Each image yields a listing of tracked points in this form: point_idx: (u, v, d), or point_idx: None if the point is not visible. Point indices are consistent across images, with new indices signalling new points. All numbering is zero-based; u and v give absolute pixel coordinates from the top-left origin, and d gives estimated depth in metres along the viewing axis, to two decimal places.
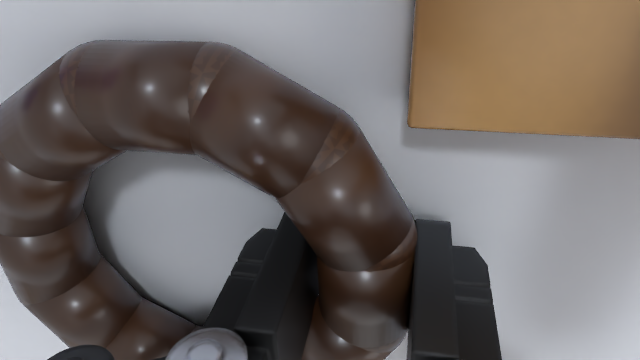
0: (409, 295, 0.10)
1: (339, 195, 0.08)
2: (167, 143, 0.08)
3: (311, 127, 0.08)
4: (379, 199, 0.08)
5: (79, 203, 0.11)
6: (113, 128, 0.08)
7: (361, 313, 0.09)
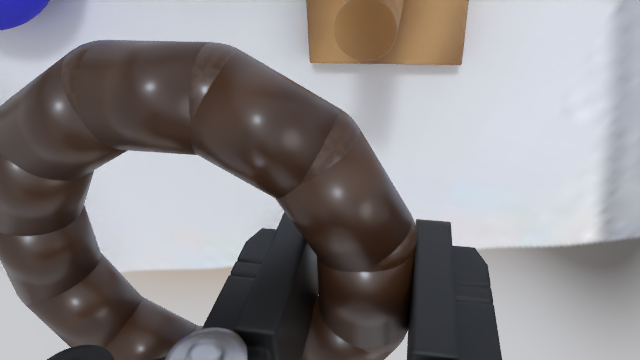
0: (409, 296, 0.10)
1: (339, 195, 0.08)
2: (168, 143, 0.08)
3: (311, 127, 0.08)
4: (379, 200, 0.08)
5: (80, 202, 0.11)
6: (114, 128, 0.08)
7: (361, 314, 0.09)
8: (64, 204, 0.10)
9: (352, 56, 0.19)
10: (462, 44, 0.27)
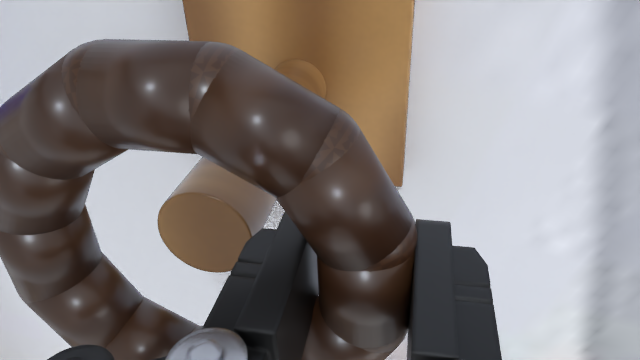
0: (409, 296, 0.10)
1: (339, 195, 0.08)
2: (168, 142, 0.08)
3: (311, 126, 0.08)
4: (379, 199, 0.08)
5: (81, 202, 0.11)
6: (114, 127, 0.08)
7: (361, 313, 0.09)
8: (65, 203, 0.10)
9: (192, 265, 0.12)
10: (402, 163, 0.21)
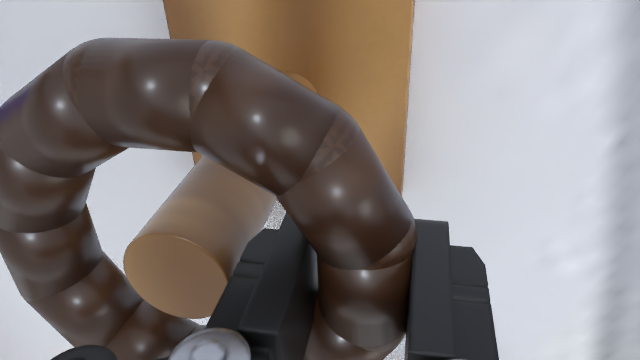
0: None
1: (338, 193, 0.08)
2: (168, 140, 0.08)
3: (311, 125, 0.08)
4: (378, 197, 0.08)
5: (82, 200, 0.11)
6: (115, 124, 0.08)
7: (360, 312, 0.09)
8: (66, 201, 0.10)
9: (163, 311, 0.11)
10: (400, 181, 0.20)
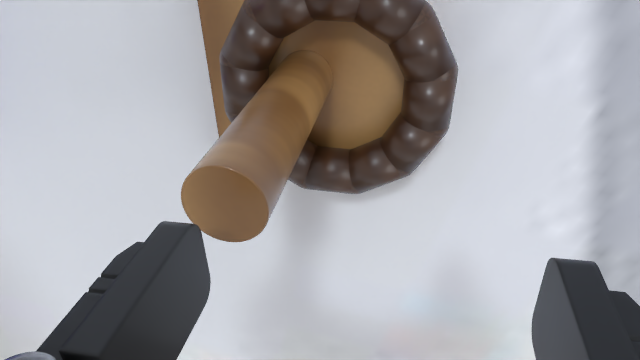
0: (451, 103, 0.19)
1: (425, 38, 0.17)
2: (344, 11, 0.17)
3: (415, 4, 0.17)
4: (442, 44, 0.18)
5: (273, 56, 0.20)
6: (319, 3, 0.17)
7: (428, 108, 0.19)
8: (270, 53, 0.19)
9: (211, 235, 0.13)
10: None
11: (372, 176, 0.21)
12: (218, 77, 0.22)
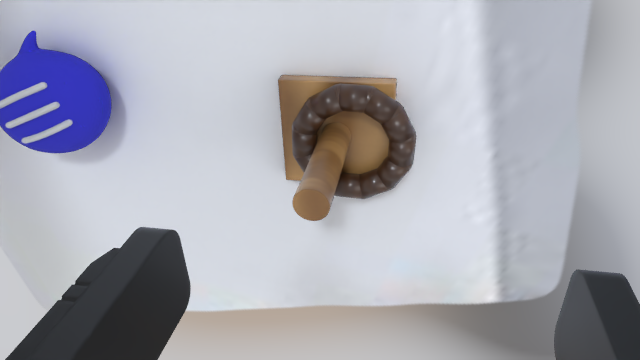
0: (413, 152, 0.37)
1: (398, 122, 0.35)
2: (358, 109, 0.35)
3: (393, 106, 0.35)
4: (407, 124, 0.35)
5: (320, 126, 0.37)
6: (346, 105, 0.35)
7: (401, 155, 0.36)
8: (319, 126, 0.37)
9: (304, 217, 0.31)
10: None
11: (372, 189, 0.38)
12: (287, 134, 0.39)
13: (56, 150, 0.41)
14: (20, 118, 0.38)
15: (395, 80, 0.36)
